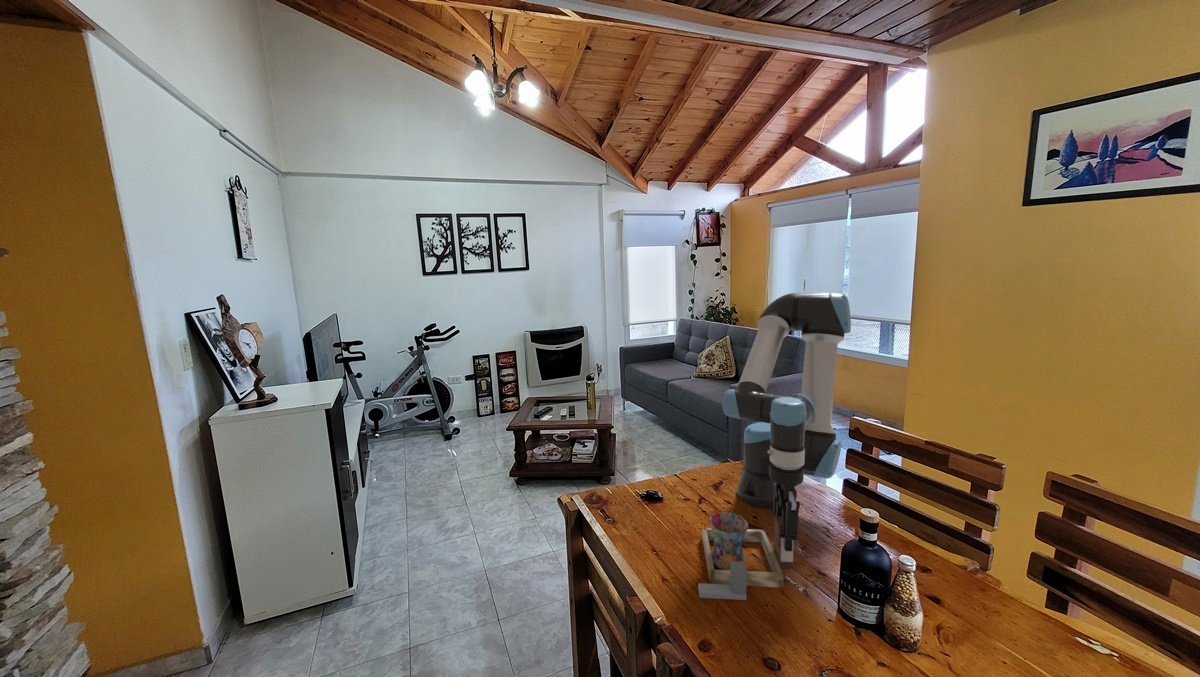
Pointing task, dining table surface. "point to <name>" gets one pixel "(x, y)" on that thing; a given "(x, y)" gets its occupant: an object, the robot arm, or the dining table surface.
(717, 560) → the mug
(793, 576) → the dining table surface
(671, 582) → the dining table surface
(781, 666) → the dining table surface
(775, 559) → the open square frame
